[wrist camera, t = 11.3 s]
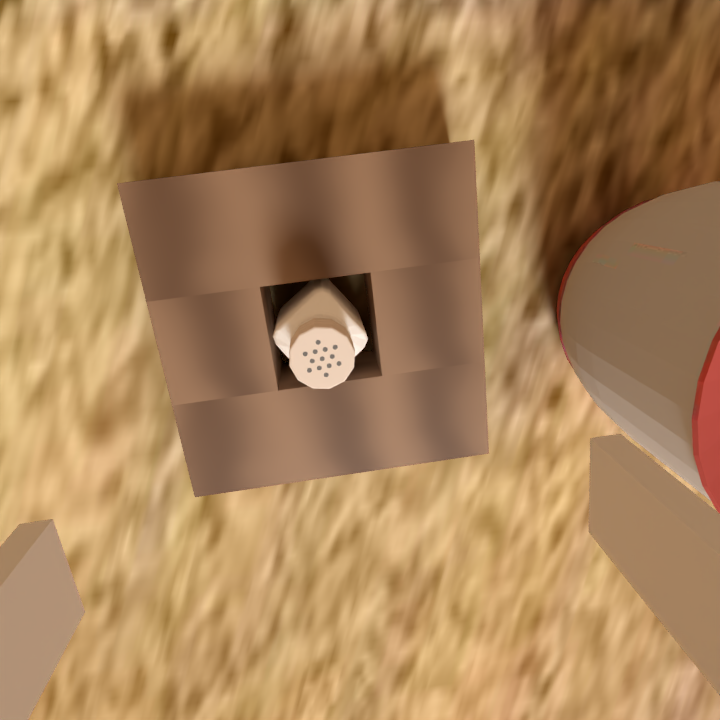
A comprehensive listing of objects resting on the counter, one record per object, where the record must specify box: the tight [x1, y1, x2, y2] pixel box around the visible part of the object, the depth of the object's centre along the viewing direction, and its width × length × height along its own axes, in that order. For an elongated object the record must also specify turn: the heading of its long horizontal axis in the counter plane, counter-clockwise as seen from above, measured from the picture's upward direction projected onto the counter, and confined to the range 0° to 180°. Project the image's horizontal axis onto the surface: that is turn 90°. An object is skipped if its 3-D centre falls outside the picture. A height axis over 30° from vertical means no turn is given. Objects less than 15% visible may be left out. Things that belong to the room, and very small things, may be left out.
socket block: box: [117, 140, 489, 497], centre depth 32 cm, size 18×18×5 cm
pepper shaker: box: [273, 278, 368, 389], centre depth 30 cm, size 4×4×10 cm
